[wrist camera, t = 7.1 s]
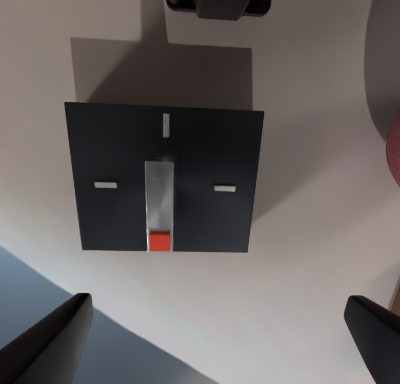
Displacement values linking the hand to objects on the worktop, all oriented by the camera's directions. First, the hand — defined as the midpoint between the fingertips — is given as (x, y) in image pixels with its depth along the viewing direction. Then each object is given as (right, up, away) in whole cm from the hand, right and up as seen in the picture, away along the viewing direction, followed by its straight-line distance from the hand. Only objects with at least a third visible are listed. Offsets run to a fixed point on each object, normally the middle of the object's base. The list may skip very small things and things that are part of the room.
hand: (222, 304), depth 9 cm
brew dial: (-3, +4, +8) cm, 9 cm away
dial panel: (-3, +5, +11) cm, 12 cm away
